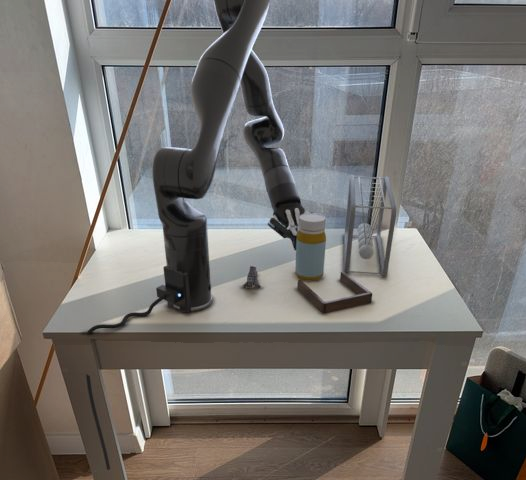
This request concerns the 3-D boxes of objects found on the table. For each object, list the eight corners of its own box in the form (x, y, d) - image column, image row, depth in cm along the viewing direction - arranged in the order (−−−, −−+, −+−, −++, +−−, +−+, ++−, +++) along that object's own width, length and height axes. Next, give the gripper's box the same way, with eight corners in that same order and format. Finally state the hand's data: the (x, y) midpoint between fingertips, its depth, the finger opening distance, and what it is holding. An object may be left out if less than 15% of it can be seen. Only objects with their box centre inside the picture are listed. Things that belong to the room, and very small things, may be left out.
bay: (296, 289, 121) (297, 280, 119) (342, 280, 125) (343, 271, 124) (322, 313, 111) (323, 303, 110) (371, 303, 115) (372, 293, 114)
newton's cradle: (386, 280, 125) (397, 209, 115) (343, 277, 127) (351, 207, 117) (379, 235, 150) (388, 174, 140) (344, 233, 151) (350, 172, 141)
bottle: (327, 273, 128) (332, 215, 120) (314, 284, 123) (319, 224, 115) (303, 267, 131) (306, 210, 123) (290, 277, 126) (292, 218, 118)
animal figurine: (246, 279, 128) (246, 259, 126) (263, 280, 128) (264, 260, 125) (239, 293, 117) (239, 272, 115) (258, 294, 117) (258, 273, 115)
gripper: (262, 184, 125) (282, 248, 122) (309, 178, 129) (330, 240, 127) (253, 199, 132) (272, 260, 129) (299, 193, 136) (318, 252, 134)
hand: (301, 250), depth 128 cm, fingers closed
